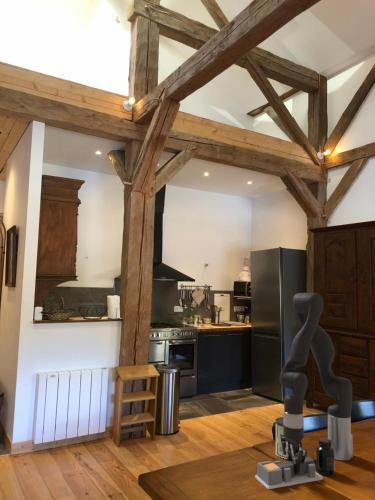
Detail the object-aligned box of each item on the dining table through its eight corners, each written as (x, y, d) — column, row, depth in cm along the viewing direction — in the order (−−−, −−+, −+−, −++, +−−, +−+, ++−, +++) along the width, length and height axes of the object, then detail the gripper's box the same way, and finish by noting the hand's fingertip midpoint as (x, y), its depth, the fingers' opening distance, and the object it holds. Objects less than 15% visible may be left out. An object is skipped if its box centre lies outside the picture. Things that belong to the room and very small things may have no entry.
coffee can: (298, 451, 170) (298, 418, 172) (300, 461, 160) (300, 426, 162) (274, 448, 172) (275, 415, 174) (275, 458, 162) (275, 423, 164)
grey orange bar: (308, 466, 151) (307, 454, 152) (315, 471, 147) (314, 459, 147) (263, 477, 144) (263, 465, 144) (270, 482, 140) (269, 470, 140)
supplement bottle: (334, 470, 153) (334, 438, 155) (335, 477, 147) (334, 444, 148) (316, 466, 156) (316, 435, 157) (316, 474, 149) (315, 442, 150)
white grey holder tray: (307, 468, 154) (307, 454, 154) (322, 479, 145) (322, 464, 146) (254, 477, 145) (255, 462, 146) (268, 489, 137) (268, 473, 137)
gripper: (313, 429, 143) (313, 478, 141) (290, 417, 156) (290, 462, 154) (296, 431, 140) (296, 481, 138) (274, 418, 153) (274, 464, 151)
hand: (293, 471), depth 146 cm, fingers closed on grey orange bar, 3 cm apart
